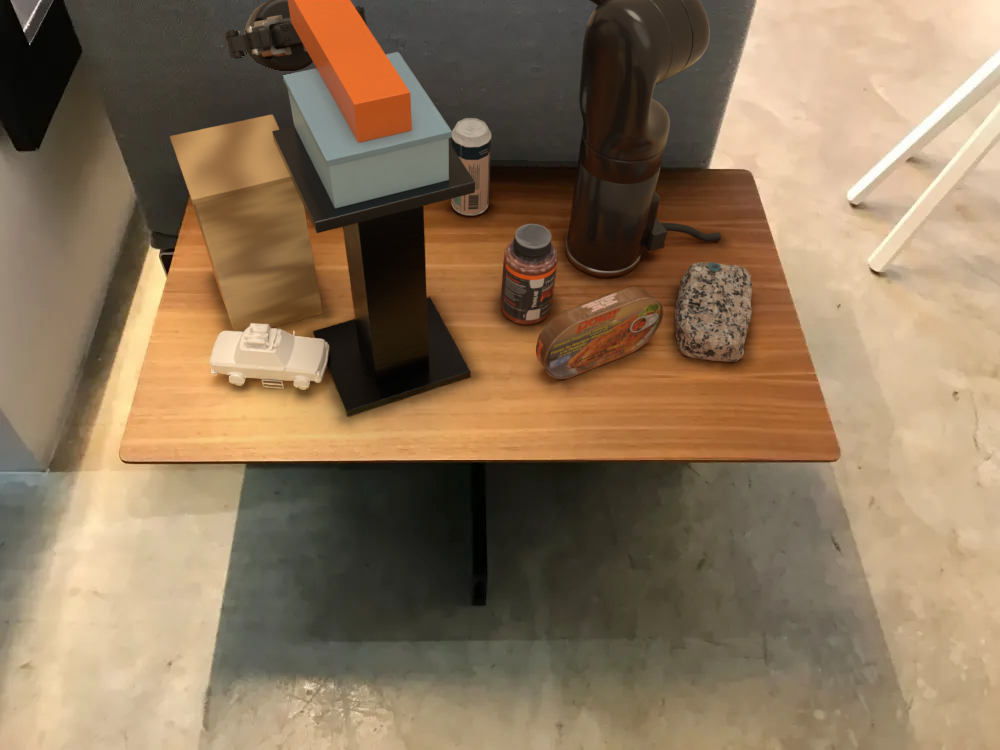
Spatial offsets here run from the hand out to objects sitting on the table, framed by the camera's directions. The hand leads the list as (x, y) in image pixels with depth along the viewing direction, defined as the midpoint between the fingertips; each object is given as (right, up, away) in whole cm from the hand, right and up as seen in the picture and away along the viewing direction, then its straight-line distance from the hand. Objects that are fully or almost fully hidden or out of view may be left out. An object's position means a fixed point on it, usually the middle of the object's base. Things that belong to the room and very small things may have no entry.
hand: (308, 30), depth 82 cm
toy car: (-6, -33, +10) cm, 35 cm away
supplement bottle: (+21, -26, +18) cm, 38 cm away
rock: (+43, -28, +17) cm, 54 cm away
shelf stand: (+6, -31, +12) cm, 34 cm away
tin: (+29, -31, +14) cm, 45 cm away
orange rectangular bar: (+6, -8, -10) cm, 13 cm away
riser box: (-8, -24, +17) cm, 31 cm away
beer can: (+15, -12, +28) cm, 34 cm away
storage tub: (+7, -14, -8) cm, 18 cm away
